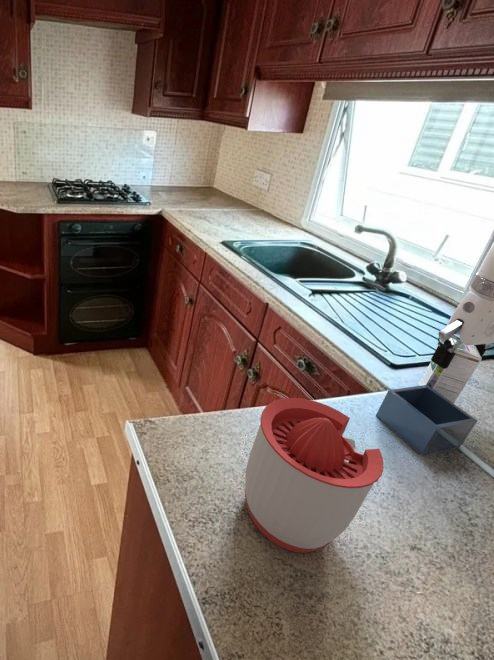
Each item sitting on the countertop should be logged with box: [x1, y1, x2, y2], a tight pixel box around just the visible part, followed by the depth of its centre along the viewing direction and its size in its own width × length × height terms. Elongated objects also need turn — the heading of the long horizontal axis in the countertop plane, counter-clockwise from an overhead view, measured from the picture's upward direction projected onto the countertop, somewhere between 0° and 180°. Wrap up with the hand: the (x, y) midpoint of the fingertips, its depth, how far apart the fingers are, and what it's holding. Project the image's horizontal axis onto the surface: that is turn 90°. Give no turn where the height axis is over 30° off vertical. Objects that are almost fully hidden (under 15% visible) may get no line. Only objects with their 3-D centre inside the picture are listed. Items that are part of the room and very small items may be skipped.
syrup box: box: [417, 338, 483, 404], centre depth 86 cm, size 6×6×14 cm
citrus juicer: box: [244, 397, 385, 554], centre depth 58 cm, size 16×17×20 cm
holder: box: [375, 385, 478, 456], centre depth 81 cm, size 11×11×7 cm
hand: (453, 362), depth 85 cm, fingers closed on syrup box, 8 cm apart
